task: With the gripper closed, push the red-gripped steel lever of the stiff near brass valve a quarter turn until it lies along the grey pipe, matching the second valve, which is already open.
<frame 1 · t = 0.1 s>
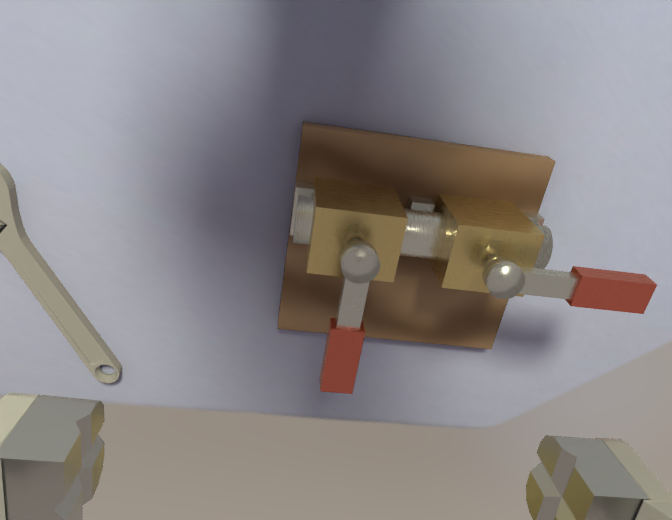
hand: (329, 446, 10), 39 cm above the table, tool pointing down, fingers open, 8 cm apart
pipe manifold: (411, 214, 50), resting on base board
adjustable wrench: (39, 275, 52), on the table
valve lever: (348, 320, 42), point 11 cm above the table, hinge at 0.0°
base board: (405, 243, 52), on the table
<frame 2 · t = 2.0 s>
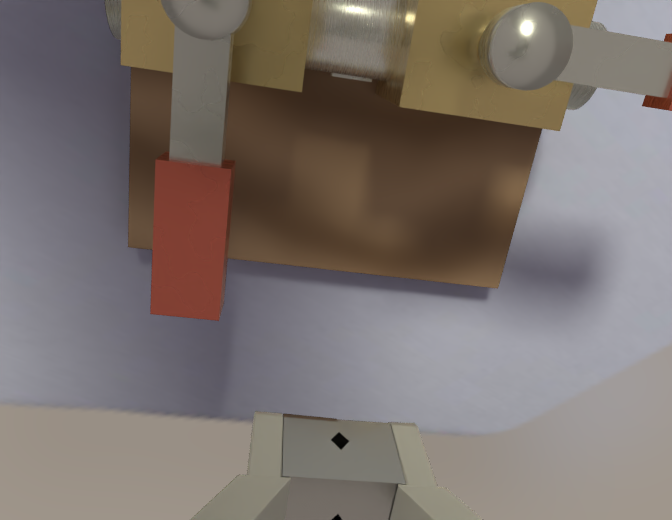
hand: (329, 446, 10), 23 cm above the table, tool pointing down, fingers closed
pipe manifold: (352, 33, 29), resting on base board
valve lever: (198, 147, 20), point 11 cm above the table, hinge at 0.0°
base board: (344, 91, 30), on the table
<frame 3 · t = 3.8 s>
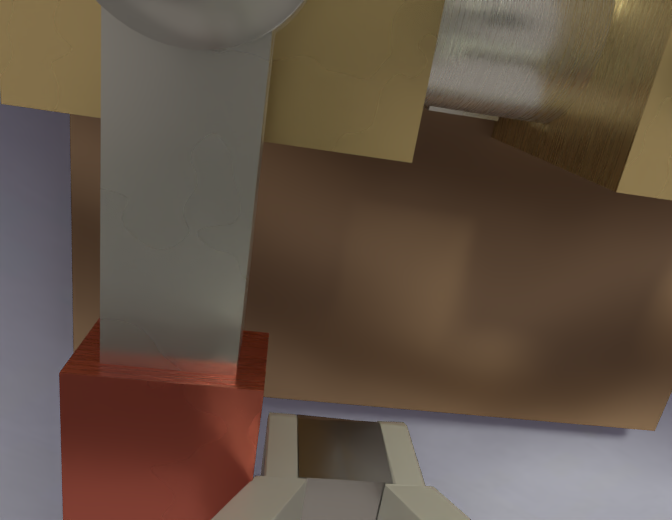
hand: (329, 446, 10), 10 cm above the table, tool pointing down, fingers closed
pipe manifold: (452, 33, 17), resting on base board
valve lever: (177, 322, 8), point 11 cm above the table, hinge at 0.0°, touching gripper
base board: (431, 130, 18), on the table
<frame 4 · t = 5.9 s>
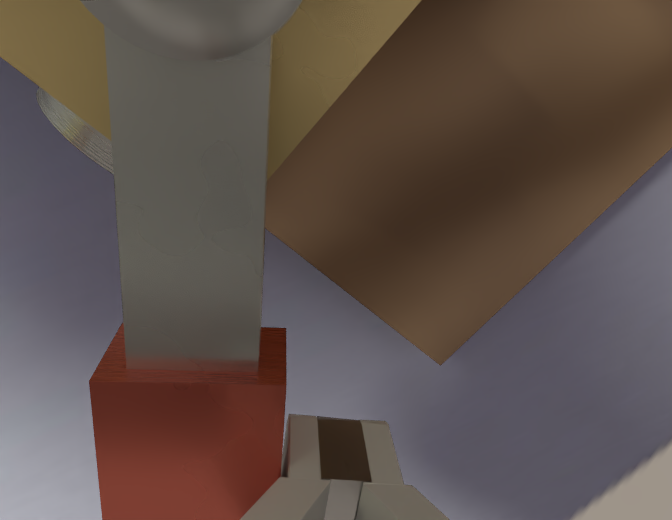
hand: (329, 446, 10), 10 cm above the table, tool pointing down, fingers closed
valve lever: (198, 324, 8), point 11 cm above the table, hinge at -53.1°, touching gripper
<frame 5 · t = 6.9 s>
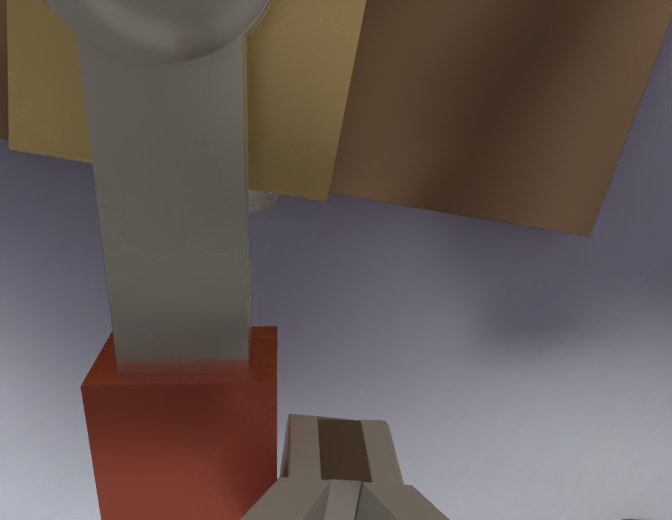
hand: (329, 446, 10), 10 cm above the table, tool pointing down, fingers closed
valve lever: (187, 326, 8), point 11 cm above the table, hinge at -81.3°, touching gripper
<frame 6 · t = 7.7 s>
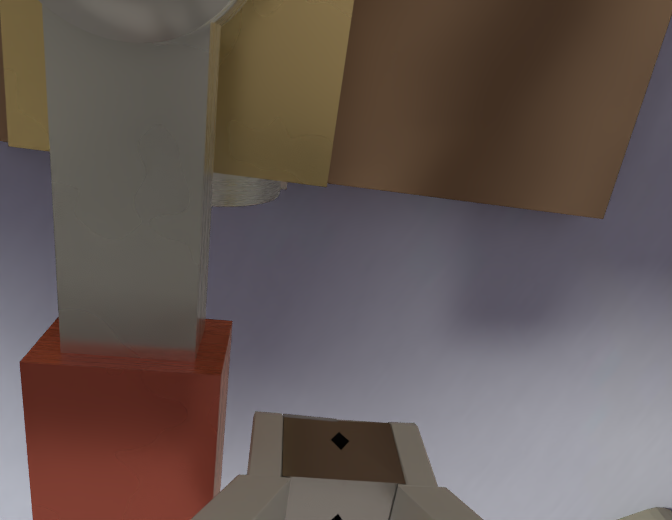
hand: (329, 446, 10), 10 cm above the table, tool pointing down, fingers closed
valve lever: (138, 312, 8), point 11 cm above the table, hinge at -89.0°
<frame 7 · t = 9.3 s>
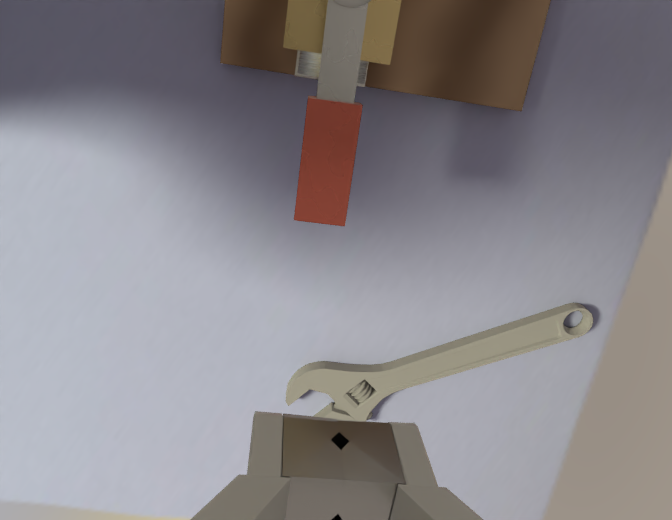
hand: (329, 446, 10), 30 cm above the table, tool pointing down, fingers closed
adjustable wrench: (433, 362, 45), on the table
valve lever: (336, 90, 26), point 11 cm above the table, hinge at -89.0°
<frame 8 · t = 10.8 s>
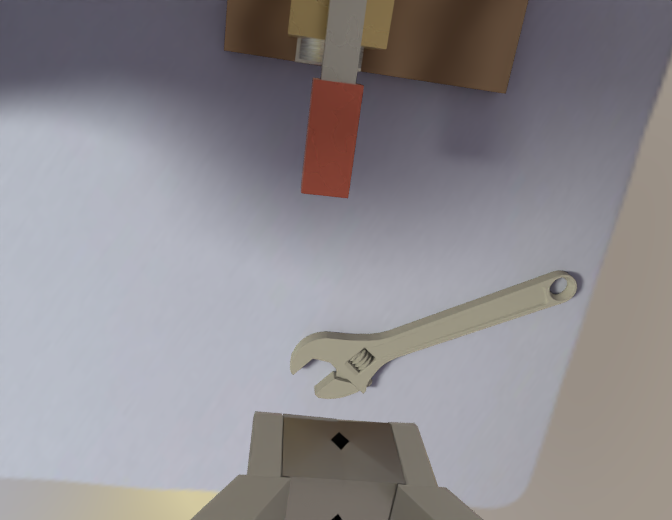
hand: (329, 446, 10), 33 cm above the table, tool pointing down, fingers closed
adjustable wrench: (429, 331, 48), on the table
valve lever: (338, 72, 28), point 11 cm above the table, hinge at -89.0°
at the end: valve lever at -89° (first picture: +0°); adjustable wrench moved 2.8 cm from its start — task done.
